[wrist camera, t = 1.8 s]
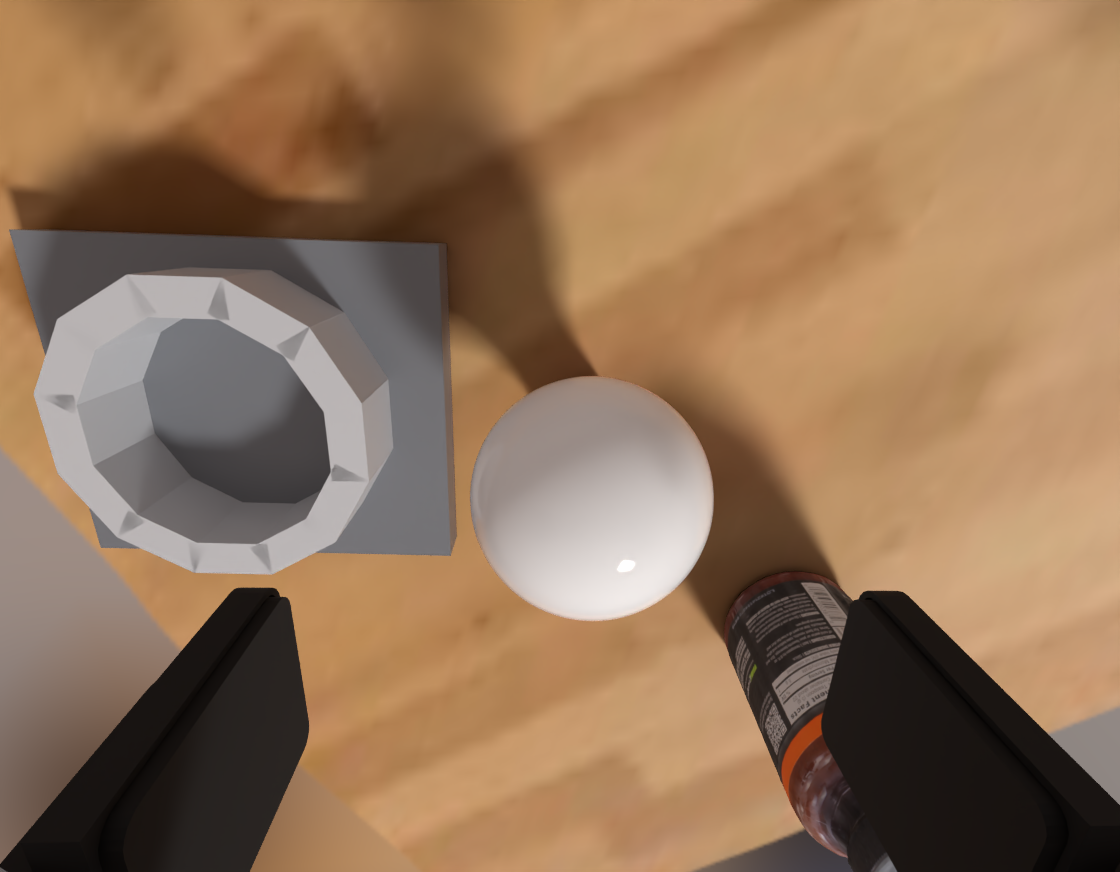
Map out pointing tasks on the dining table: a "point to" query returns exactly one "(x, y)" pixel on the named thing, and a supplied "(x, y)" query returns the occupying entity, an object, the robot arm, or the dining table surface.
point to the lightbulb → (592, 498)
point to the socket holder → (247, 392)
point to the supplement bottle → (801, 702)
